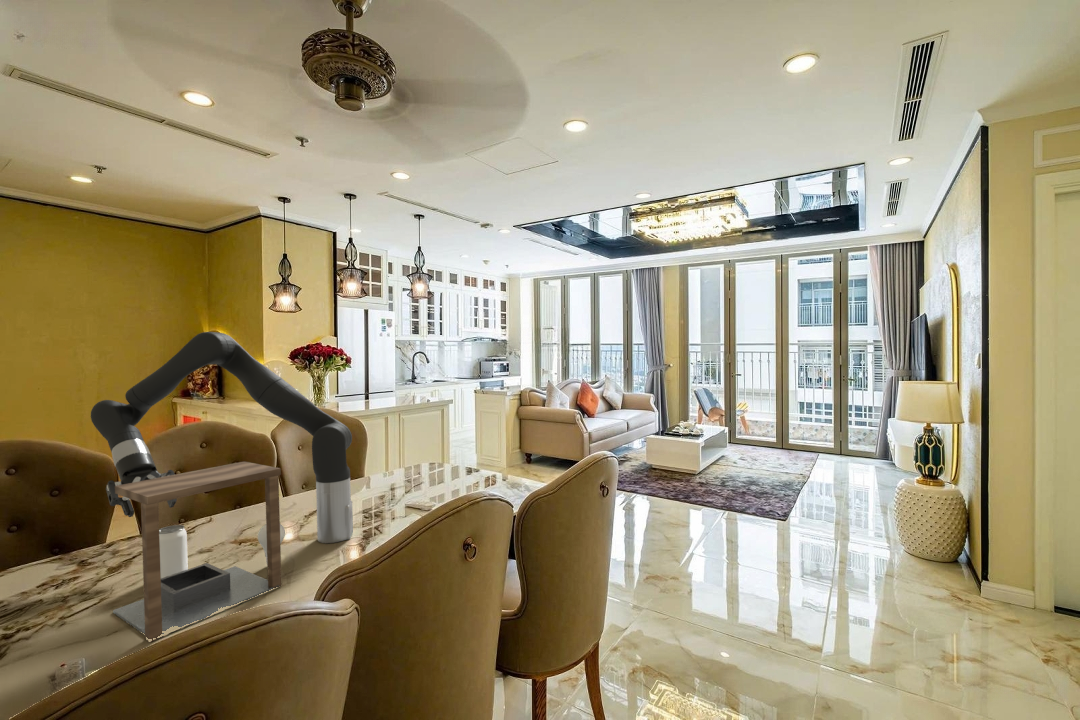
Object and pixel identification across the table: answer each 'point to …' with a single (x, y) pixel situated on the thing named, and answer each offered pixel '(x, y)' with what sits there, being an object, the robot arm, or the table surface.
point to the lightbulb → (263, 537)
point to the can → (173, 550)
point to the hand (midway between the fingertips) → (152, 510)
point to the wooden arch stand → (188, 485)
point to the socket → (197, 595)
